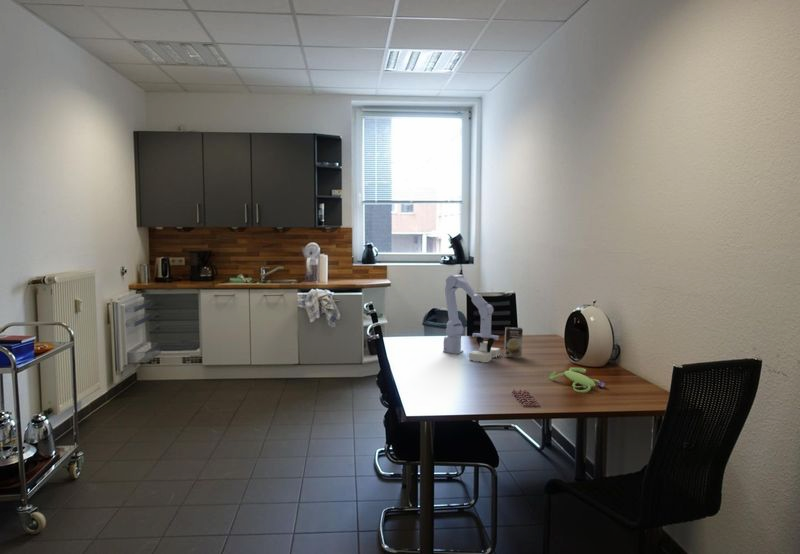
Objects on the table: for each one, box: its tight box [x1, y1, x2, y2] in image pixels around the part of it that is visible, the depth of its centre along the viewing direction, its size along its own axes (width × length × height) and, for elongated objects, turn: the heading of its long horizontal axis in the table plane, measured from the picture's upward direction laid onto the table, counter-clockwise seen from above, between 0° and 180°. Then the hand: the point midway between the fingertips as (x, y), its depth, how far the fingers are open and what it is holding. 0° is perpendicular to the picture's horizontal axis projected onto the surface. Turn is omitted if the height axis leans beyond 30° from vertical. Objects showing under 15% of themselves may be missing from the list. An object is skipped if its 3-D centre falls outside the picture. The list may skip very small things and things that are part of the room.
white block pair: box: [469, 347, 501, 363], centre depth 302 cm, size 10×20×4 cm, turn 150°
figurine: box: [547, 367, 606, 394], centre depth 253 cm, size 18×27×6 cm
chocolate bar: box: [511, 389, 541, 407], centre depth 229 cm, size 7×19×2 cm, turn 2°
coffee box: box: [503, 326, 524, 359], centre depth 305 cm, size 9×6×16 cm
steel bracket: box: [480, 340, 490, 353], centre depth 302 cm, size 4×5×8 cm
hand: (485, 351), depth 302 cm, fingers closed on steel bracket, 4 cm apart
